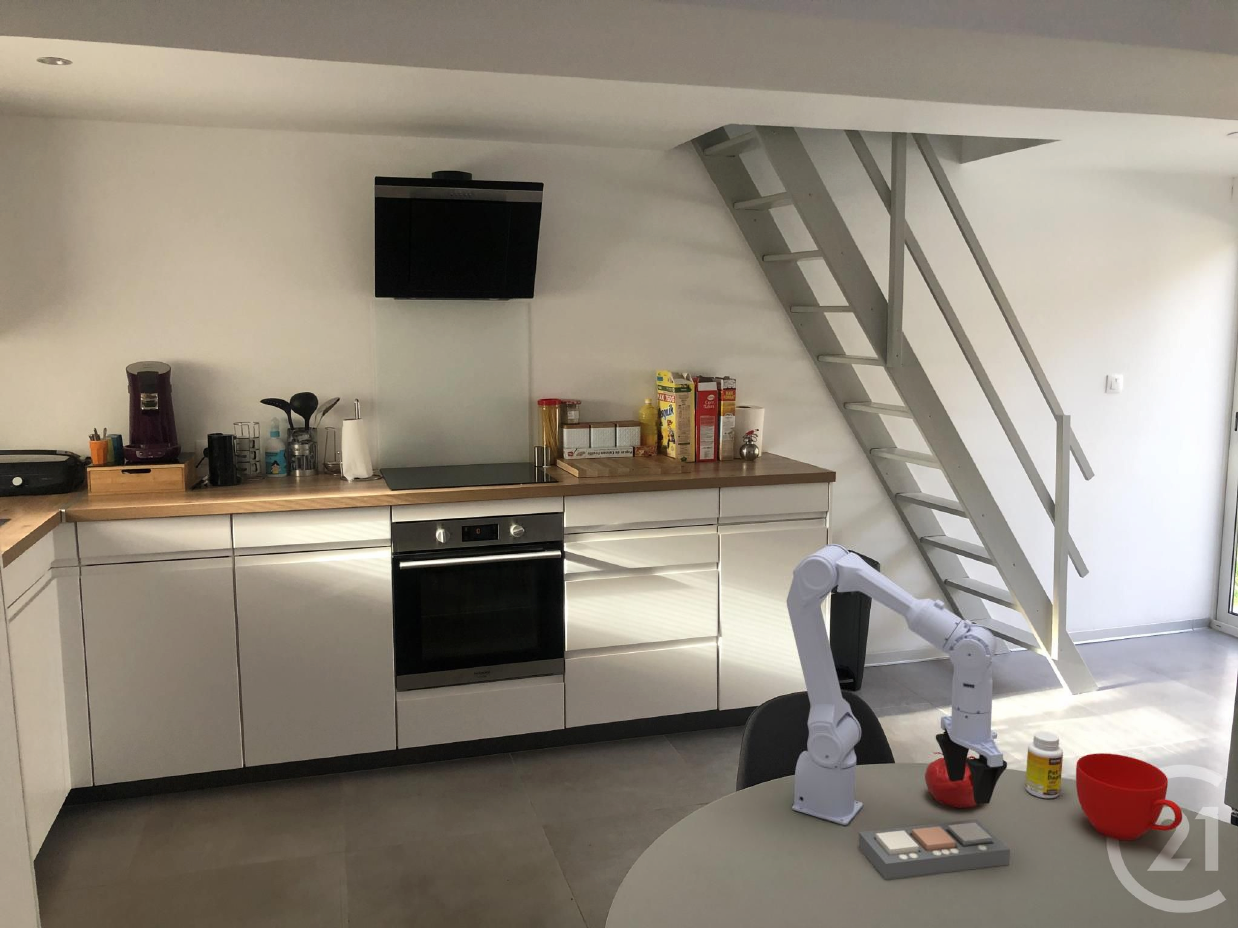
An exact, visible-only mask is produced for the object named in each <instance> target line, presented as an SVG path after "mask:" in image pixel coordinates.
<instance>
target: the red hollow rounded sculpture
mask: <svg viewBox="0 0 1238 928" xmlns="http://www.w3.org/2000/svg"><path fill="white" fill-rule="evenodd" d="M932 753H933V754H934V755H936V754H938V755H941V756H943V753H942V752H941V751H940V752H935V751H932ZM974 758H976V757H975V756H973V755H971V756H967V759H974ZM977 758H978V759H979V757H977ZM924 780H925V781H924V782H925V784H926V787H927V790H928V791H929V793H930V794H931V796H932V797H933V798H934V799H935V800H936V801H937V802H939V803H940V804H943V805H944V806H950V807H953V808H959V809H960V808H962V809H964V808H972V807H976V806H977V805H978V804H976V803H975V800H974V795H973V782H972V776H971V772H970V769H969V767H968V765H967V763H966V768H965V775H964V778H963V780H961V781H952V782H951V781H950V780H949V778H948V774H947V769H946V764H945V760H944V757H939V758H938V759H935V760H934V761H931V762H930V763H929V764H928V765H927V767H926V770H925V773H924Z"/></svg>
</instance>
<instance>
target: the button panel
mask: <svg viewBox="0 0 1238 928" xmlns="http://www.w3.org/2000/svg"><path fill="white" fill-rule="evenodd" d="M966 823H976V824H977V825H978V826H979V827H980V828H982V829H983V830H984V831H985V832H986V833H987V834H988V835H989V836H990V837H992V841H991V844H985V845H977V846H968V847H962V846H961V845H960V844H959V843H958V842H957V841H956V840H955V839H954V838H953V837H952V836H951V835H950V834H949V833H948V825H957V824H966ZM939 826H940V827H941V828H942V829H943V830H944V831H945V832H946V833H947V834H948V835H949V836H950V837H951V838H952V839H953V840H954V841H955V842H956V843H955V848H951V849H943V850H934V851H925V850H924V848H923V847H922V846H921V845H920V844H919V843H918V842H917V841H916V840H915V839H914V838H913V837H912V829H921V828H930V827H939ZM903 830H904V831H905V832H906V833H907V834H908V835H909V836H910V837H911V838H912V840H913V841H914V842H915V843H916V844H917V845H918V846H919V852H917V853H908V854H900V855H891V856H889V855H888V854H887V853H886V852H885V851H884V850H883V848H882V847H881V846H880V845H879V844H878V843H877V842H876V833H885V832H894V831H903ZM857 846H858V849H859V850H860V851H861V852H862V854H863V855H864V856H865V858H867V860H868V861H869V862H870V863H871V864H872V865H873V866H874V868H875V869H876V870H877V871H878V873H879V874H880V875H881V876H882V878H883V879H884V880H886V881H887V880H893V879H901V878H902V879H903V878H909V877H911V878H912V877H919V876H925V875H926V876H927V875H933V874H934V875H935V874H942V873H950V872H953V873H954V872H958V871H959V872H960V871H966V870H967V871H969V870H975V869H983V868H984V869H985V868H991V867H992V868H993V867H1002V866H1008V865H1010V858H1011V857H1010V856H1011V849H1010V847H1008V846H1007V845H1006V844H1005V843H1004V842H1003V841H1002V840H1000V838H998V837H997V836H996V835H995V834H994V833H993V832H992V831H991V830H990V829H989V828H988V827H986V826H985V825H984V824H983V823H982V822H981V821H979V820H978V819H977V818H976V819H974V818H973V819H966V820H959V821H958V820H956V821H947V822H937V823H930V824H920V825H913V826H903V827H894V828H887V829H886V828H884V829H877V830H865V831H859V832H858V845H857Z"/></svg>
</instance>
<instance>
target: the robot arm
mask: <svg viewBox="0 0 1238 928" xmlns="http://www.w3.org/2000/svg"><path fill="white" fill-rule="evenodd" d="M792 576H793V578H792V581H791V584H790V588H789V591H788V594H787V598H786V608H787V611H788V615H789V616H788V617H789V620H790V624H791V625H790V626H791V628H792V633H793V637H794V641H795V645H796V649H797V653H798V658H799V662H800V666H801V671H802V674H803V679H804V683H805V684H804V685H805V687H806V691H807V695H808V699H809V703H810V709H809V714H808V718H807V719H808V720H807V728H808V738H807V744H806V746H807V750H804V751H802V752H801V753H800V754H799V757H798V758H797V762H796V766H795V771H794V772H795V773H794V799H793V802H794V803H793V805H792V806H791V807H792V810H793V811H797V812H800V813H803V814H806V815H810V816H813V817H816V818H819V819H823V820H826V821H830V822H834V823H836V824H840V825H844V826H847V825H849V823H850V822H851V821H852V820H853V818H854V817H855V816H856V815H857V814H858V812H859V811H860V810H861V808H863V807H864V805H863V803H862V801H861V802H860V801H857V800H856V798H855V796H856V775H857V774H856V773H857V755H856V753H855V747H856V745H857V744H858V743H859V742H860V740H861V737H862V728H861V724H860V722H859V721H858V719H857V718H856V717H855V716H854V714H853V712H852V709H851V705H850V703H849V702H848V701H846V699H844V697H843V695H842V690H841V686H840V683H839V678H838V673H837V671H836V666H835V661H834V658H833V653H832V649H831V644H830V639H829V637H828V632H827V628H826V623H825V619H824V614H823V610H822V604H823V602H825V600H826V598H827V597H828V596H829V595H830V593H831V592H832V590H833V589H834V588H835V587H836V586H837V590H836V592H838V593H847V592H848V593H849V592H860V593H863V594H865V595H866V596H868V597H869V598H871V599H873V600H875V601H876V602H878V603H880V604H882V605H883V606H885V607H886V608H889V609H890V610H892V611H893V612H895V613H897V614H899V615H900V616H902V617H903V618H904V619H905V621H906V624H907V628H908V630H909V631H911V632H912V633H914V634H915V635H918V636H919V637H921V638H922V639H923V640H925V641H926V642H928V643H930V645H932V646H934V647H935V648H937V649H938V650H940V651H941V652H943V653H945V654H947V655H948V658H949V660H950V662H951V664H952V665H953V676H952V693H951V715H947V716H946V715H945V716H940V730H942V731H943V733H938V734H936V735H935V739H936V740H935V741H936V742H937V744H938V746H939V748H940V752H941V753H942V754H943V755H942V756H943V758H944V760H945V764H946V769H947V774H948V778H949V780H950V781H951V782H952V781H961V780H963V778H964V775H965V768H966V763H967V765H968V767H969V769H970V772H971V776H972V782H973V795H974V800H975V803H976V804H977V805H978V806H979V805H985V804H986V805H988V804H990V802H991V799H992V796H993V794H994V790H995V788H996V785H997V782H998V781H999V779H1000V777H1001V776H1002V774H1003V773H1004V771H1005V770H1006V769H1008V762H1007V761H1006V760H1005V759H1004V753H1003V752H1002V751H1001V750H1000V749H999V748H998V745H997V744H996V742H995V740H996V739H997V738H998V734H997V733H996V732H995V730H994V731H993V730H992V709H993V708H992V707H993V683H994V680H993V677H992V676H993V662H992V659H993V657H994V656H995V654H996V651H997V646H998V645H997V639H996V637H995V636H994V634H993V633H992V632H991V631H990V630H989V629H988V628H987V627H986V626H985V625H982V624H977V623H973V622H972V621H971V620H969V619H966V620H964V619H963V618H961V617H959V616H958V615H956V614H955V613H953V612H951V611H950V610H948V609H947V608H945V605H946V604H945V602H943V601H941V600H940V599H936V600H935V601H934V600H933V599H931V598H929V597H928V598H923V599H922V598H921V599H918V598H916V597H914V596H913V595H911V594H910V593H909V592H907V591H906V590H904V589H903V588H902V587H900V586H899V585H898V584H896V583H894V582H893V581H892V580H890V579H889V578H888V577H886V576H885V575H883V574H882V573H881V572H879V571H878V570H877V569H876V568H874V567H872V566H871V565H870V564H868V563H867V562H866V561H865V560H864V559H862V557H861V556H859V555H858V554H857V553H854V552H852V551H851V552H849V550H848V549H846V547H844V546H842V545H840V544H836V543H828V544H826V545H823V547H821V548H820V549H819V550H817V551H816V552H814V553H812V554H810V555H809V554H808V555H807V556H806V557H804V558H803V559H802V560H801V561H800V562H799V564H798V565H796V566H795V568H794V569H793V571H792ZM969 751H973V752H975V753H976V754H978V757H975V758H970V759H967V757H968V755H969ZM978 758H979V759H978Z"/></svg>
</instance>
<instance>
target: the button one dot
mask: <svg viewBox="0 0 1238 928" xmlns="http://www.w3.org/2000/svg"><path fill="white" fill-rule="evenodd" d="M948 833H949V834H950V835H951V836H952V837H953V838H954V839H955V840H956V841H957V842H958V843H959V844H960V845H961V846H962V847H968V846H977V845H985V844H991V841H992V837H990V836H989V835H988V834H987V833H986V832H985V831H984V830H983V829H982V828H980V827H979V826H978V825H977V824H976V823H966V824H957V825H948Z"/></svg>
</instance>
